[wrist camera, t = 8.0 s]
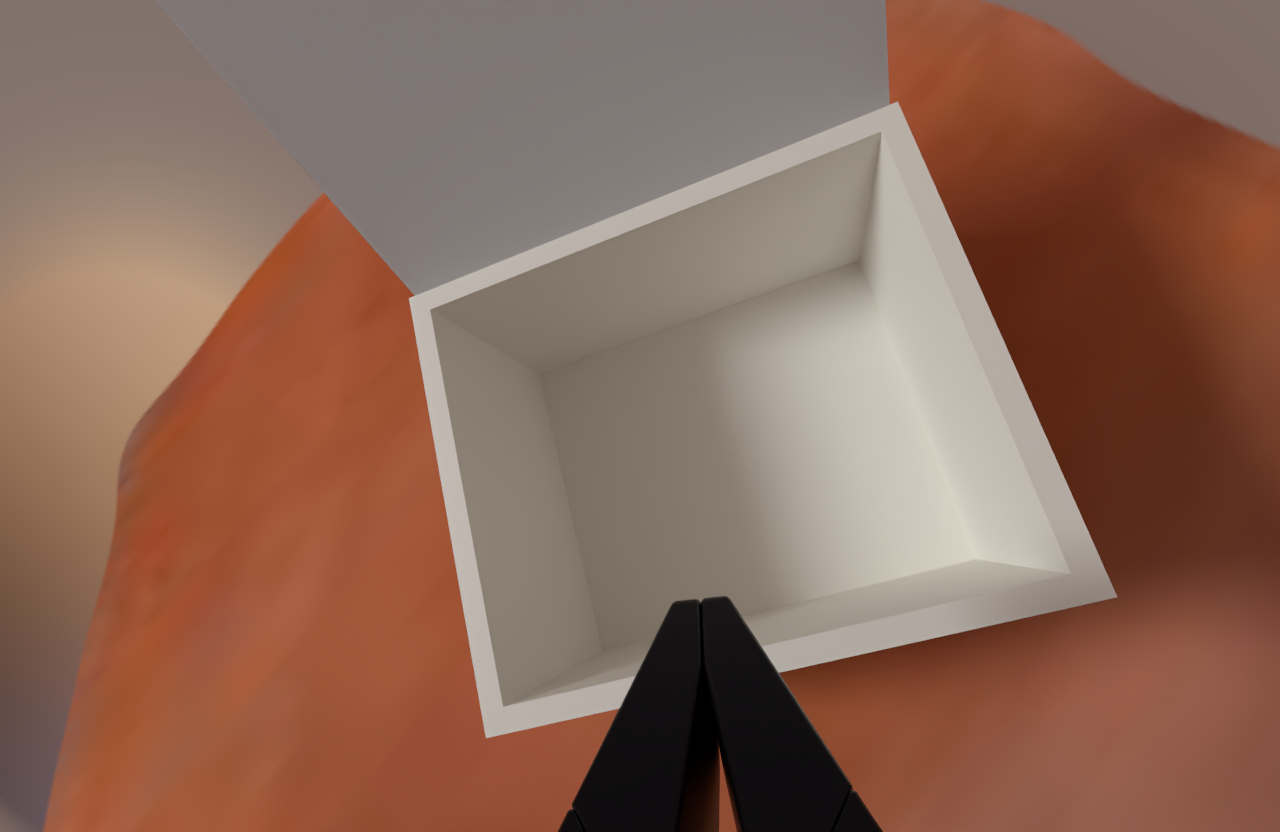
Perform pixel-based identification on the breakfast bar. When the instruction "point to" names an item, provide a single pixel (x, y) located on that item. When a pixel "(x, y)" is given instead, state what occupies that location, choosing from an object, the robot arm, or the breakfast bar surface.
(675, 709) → the robot arm
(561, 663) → the carton
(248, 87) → the carton flap
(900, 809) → the breakfast bar surface
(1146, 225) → the breakfast bar surface
